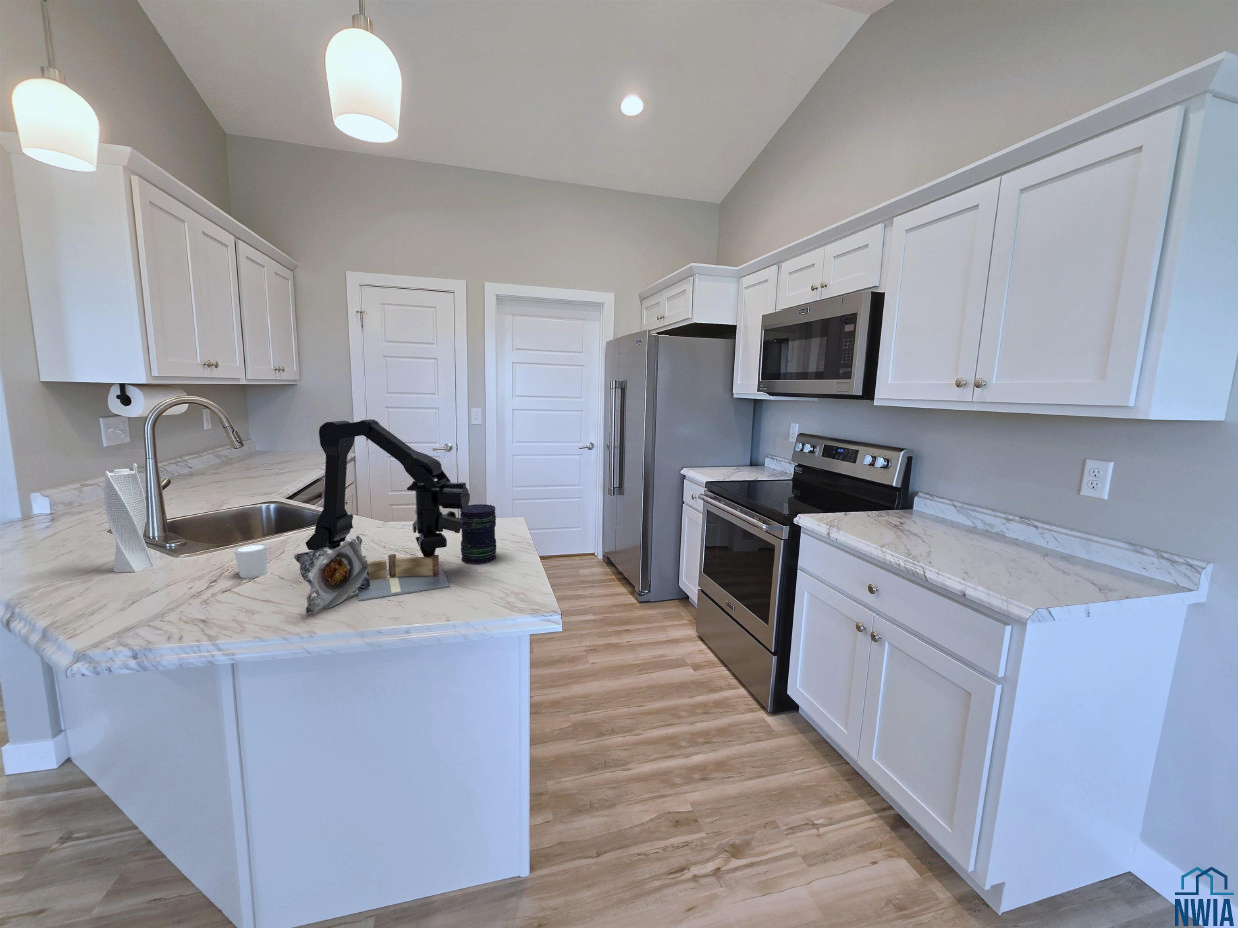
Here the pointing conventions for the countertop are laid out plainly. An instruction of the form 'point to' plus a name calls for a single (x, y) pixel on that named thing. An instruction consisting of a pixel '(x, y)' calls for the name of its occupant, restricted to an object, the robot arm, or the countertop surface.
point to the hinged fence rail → (413, 566)
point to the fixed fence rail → (377, 569)
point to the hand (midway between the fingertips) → (429, 564)
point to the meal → (333, 573)
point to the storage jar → (478, 534)
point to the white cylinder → (251, 560)
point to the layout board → (402, 585)
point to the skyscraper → (127, 519)
